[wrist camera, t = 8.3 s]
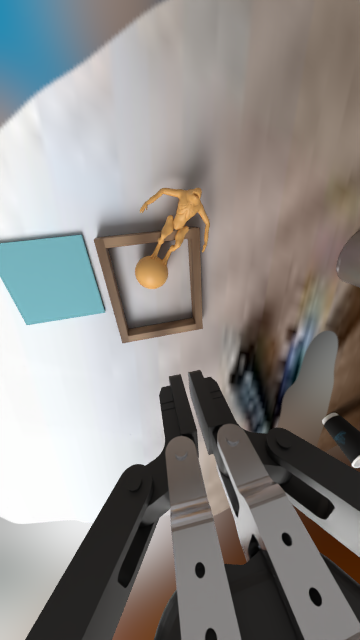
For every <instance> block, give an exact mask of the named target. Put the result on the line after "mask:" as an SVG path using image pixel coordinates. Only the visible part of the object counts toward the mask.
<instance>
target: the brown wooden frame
mask: <svg viewBox="0 0 360 640" xmlns="http://www.w3.org/2000/svg"><path fill="white" fill-rule="evenodd" d="M161 232H162V230H161V231H152V232H143V233H134V234H125V235H116V236H107V237H98V238H95V239H94V243H95V246H96V250H97V253H98V257H99V261H100V264H101V268H102V271H103V275H104V279H105V282H106V286H107V289H108V293H109V296H110V300H111V304H112V307H113V311H114V314H115V318H116V322H117V325H118V329H119V332H120V336H121V339H122V343H127V342H132V341H138V340H143V339H149V338H154V337H160V336H165V335H170V334H176V333H181V332H187V331H192V330H198V329H203V325H202V293H201V260H200V228H198V227H189V231H188V232H187V233H186V235H185V237H184V239H188V249H189V266H190V283H191V300H192V317H193V318H189V319H183V320H178V321H172V322H166V323H161V324H155V325H149V326H143V327H138V328H132V329H128V325H127V321H126V317H125V313H124V309H123V305H122V301H121V297H120V293H119V289H118V286H117V282H116V278H115V274H114V270H113V266H112V262H111V258H110V254H109V250H108V248H112V247H120V246H129V245H137V244H145V243H154V242H158V239H159V238H160V237H161ZM177 232H178V230H175V229H173V232H172V233H171V234H170V235H168V236H167V237H166V238H165V239H164V241H171V240H175V235H176V233H177Z"/></svg>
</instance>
